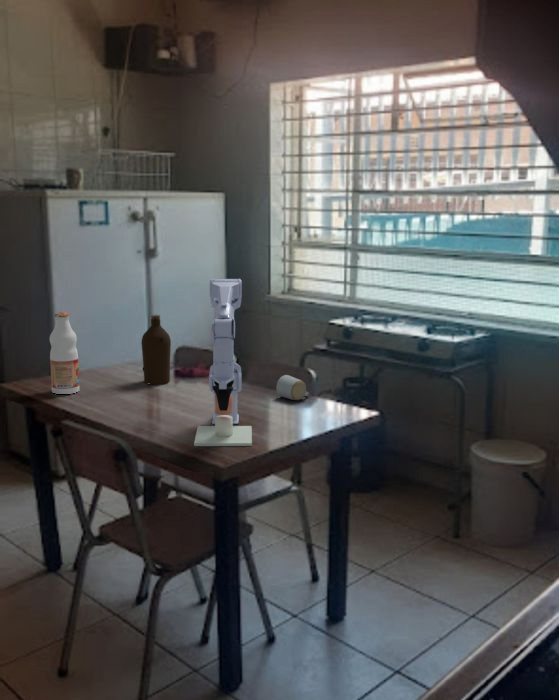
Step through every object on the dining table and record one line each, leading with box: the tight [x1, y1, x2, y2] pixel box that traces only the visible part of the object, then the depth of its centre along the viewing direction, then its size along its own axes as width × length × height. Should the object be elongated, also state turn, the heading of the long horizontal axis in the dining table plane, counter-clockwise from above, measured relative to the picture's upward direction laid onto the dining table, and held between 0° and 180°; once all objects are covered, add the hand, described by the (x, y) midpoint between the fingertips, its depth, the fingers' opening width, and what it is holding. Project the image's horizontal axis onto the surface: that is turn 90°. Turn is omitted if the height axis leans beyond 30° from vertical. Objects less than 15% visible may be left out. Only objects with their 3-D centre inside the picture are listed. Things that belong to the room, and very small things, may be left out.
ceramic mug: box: [275, 374, 310, 401], centre depth 260 cm, size 11×8×8 cm
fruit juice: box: [49, 311, 80, 395], centre depth 263 cm, size 9×9×28 cm
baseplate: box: [193, 425, 253, 447], centre depth 218 cm, size 16×16×1 cm
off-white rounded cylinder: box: [214, 415, 234, 437], centre depth 217 cm, size 5×5×5 cm
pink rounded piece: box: [215, 394, 233, 415], centre depth 216 cm, size 5×5×5 cm
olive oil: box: [141, 314, 172, 385], centre depth 279 cm, size 11×11×25 cm
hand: (223, 407), depth 216 cm, fingers closed on pink rounded piece, 5 cm apart
